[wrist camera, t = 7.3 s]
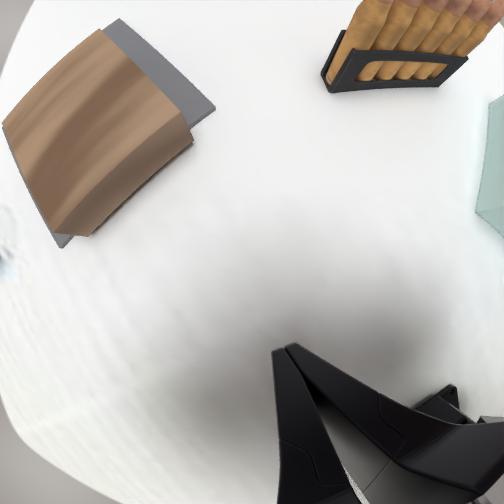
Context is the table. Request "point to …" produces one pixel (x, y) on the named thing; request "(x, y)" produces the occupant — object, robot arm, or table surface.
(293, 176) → the table surface
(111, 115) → the tan wooden block
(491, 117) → the l-shaped corner panel
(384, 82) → the ammunition clip
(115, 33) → the mat
